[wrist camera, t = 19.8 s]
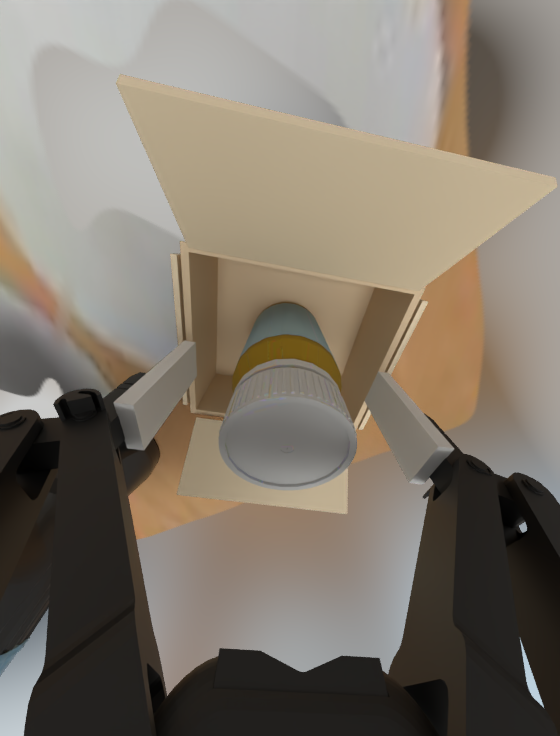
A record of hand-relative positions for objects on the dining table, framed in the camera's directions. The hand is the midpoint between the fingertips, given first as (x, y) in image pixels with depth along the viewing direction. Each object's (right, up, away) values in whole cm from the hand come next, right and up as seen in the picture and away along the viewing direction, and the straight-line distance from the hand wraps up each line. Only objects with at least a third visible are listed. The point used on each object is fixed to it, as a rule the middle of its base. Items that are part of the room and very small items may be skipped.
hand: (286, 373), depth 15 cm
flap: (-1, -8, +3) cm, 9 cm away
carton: (0, +4, +8) cm, 9 cm away
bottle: (0, +4, +7) cm, 8 cm away
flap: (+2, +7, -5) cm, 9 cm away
